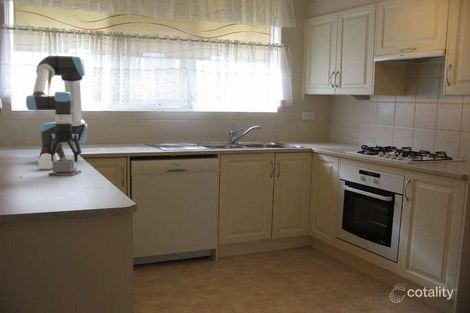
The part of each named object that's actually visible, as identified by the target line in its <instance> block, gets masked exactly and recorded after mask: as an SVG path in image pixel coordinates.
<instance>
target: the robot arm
mask: <svg viewBox="0 0 470 313" xmlns="http://www.w3.org/2000/svg"><path fill="white" fill-rule="evenodd" d="M35 71H36V78H35V83H34V87H33V92H32V94H31V95H27V96H26V99H25V100H26V101H25V102H26V103H25V104H26V105H25V106H26V109H27V110H28V111H35V112H36V111H55V112H54V114H55V115H54V117H55V121H52V122H46V123H45V122H44V123H42V124H41V126H40V128H41V129H40V133H41V134H40V135H41V136H40V137H41V149H40V153H39V156H38V159H39V158H40V156H41V154H45V153H48V154H50V155H51V161H56V160H57V155H55V153H58V154H60V156H61V158H67V157H66V153H65V152H64V149H63V144H67V145H68V146H69V148H70V149H71V152H72V154H73V155H72V160H73V169H75V168H76V162H77V163H78V161H79V155H80V154H82V149H81V146H80V143H82V144H83V143H85V142H86V140H87V134H88V132H87V131H88V123H86V122H85V120H84V118H83V112H82V111H83V110H82V98H81V97H82V94H81V81H82V80H83V77H85V75H86V70H85V64H84V60H83V58H82V56H80V55H75V54H50V55H47V56H46V57H44V58H43V59H42V60H41V61H40V62H39V63H38V64H37V65H36V70H35ZM54 76H60V77H61V81H63V82H64V91H55V93H54V95H49V94H50V89H51V84H52V78H54Z"/></svg>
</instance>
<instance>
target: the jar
mask: <svg viewBox="0 0 470 313" xmlns="http://www.w3.org/2000/svg"><path fill="white" fill-rule="evenodd" d="M55 155H57V160H59V159H62V158H61V156H60V154H58V153H55ZM39 156H40V155H39ZM36 162H37V164H38V165H39V167H40V168H41V170H53V165H52V161H51V155H50V154H48V153H45V154H41V156H40V158H39V157H38V160H37V161H36Z"/></svg>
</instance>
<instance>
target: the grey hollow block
mask: <svg viewBox="0 0 470 313" xmlns="http://www.w3.org/2000/svg"><path fill="white" fill-rule="evenodd" d="M52 165H53V168H52V172H72V171H74V170H78V161H77V162H76V168H75V169H73V159H68V161H62V159H59V160H56V161H52Z"/></svg>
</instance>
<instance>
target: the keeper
mask: <svg viewBox="0 0 470 313" xmlns="http://www.w3.org/2000/svg"><path fill="white" fill-rule="evenodd" d="M68 160H69V158H68V157H66V158H62V161H68ZM81 172H82V170H81V169H80V170H79V169H77V170H74V171H72V172H53V171H52V172H49V173H48V177H51V176H52V177H53V176H55V177H74V176H76V175H78V174H81Z"/></svg>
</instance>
